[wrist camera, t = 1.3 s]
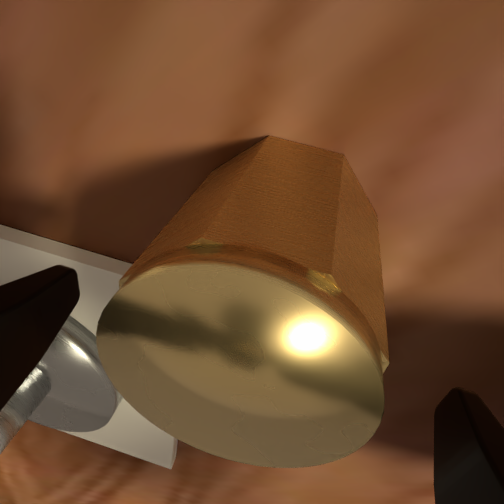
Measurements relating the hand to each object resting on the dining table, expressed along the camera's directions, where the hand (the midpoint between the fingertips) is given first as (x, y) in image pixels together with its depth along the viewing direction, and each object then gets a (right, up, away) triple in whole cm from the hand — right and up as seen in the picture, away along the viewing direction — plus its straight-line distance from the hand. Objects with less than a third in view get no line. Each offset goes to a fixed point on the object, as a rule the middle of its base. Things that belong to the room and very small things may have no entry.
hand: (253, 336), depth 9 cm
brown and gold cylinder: (+1, +3, +4) cm, 5 cm away
